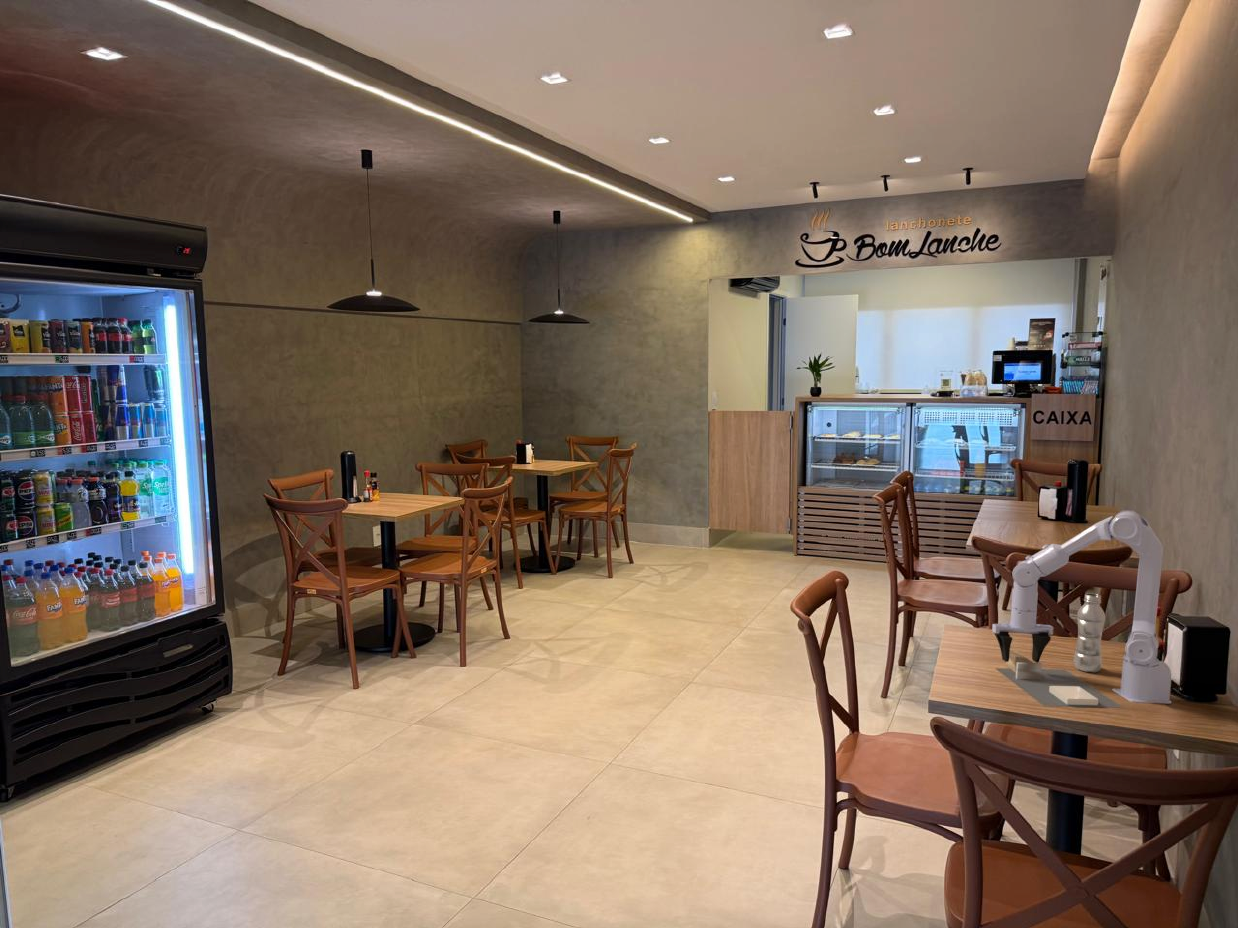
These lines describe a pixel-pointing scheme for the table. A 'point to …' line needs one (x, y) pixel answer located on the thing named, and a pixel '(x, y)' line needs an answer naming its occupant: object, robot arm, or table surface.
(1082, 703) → the tile
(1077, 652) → the plastic bottle
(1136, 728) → the table surface
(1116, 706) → the mat
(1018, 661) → the tan upright post
